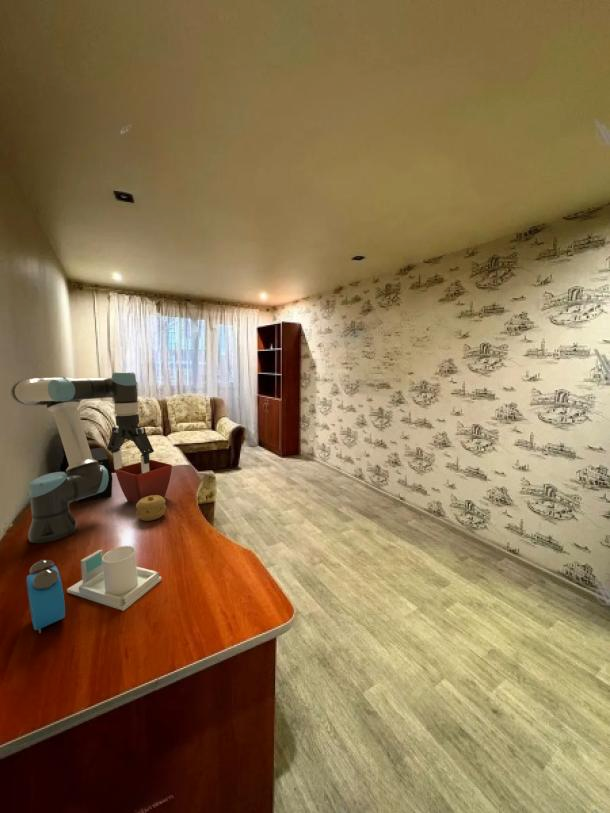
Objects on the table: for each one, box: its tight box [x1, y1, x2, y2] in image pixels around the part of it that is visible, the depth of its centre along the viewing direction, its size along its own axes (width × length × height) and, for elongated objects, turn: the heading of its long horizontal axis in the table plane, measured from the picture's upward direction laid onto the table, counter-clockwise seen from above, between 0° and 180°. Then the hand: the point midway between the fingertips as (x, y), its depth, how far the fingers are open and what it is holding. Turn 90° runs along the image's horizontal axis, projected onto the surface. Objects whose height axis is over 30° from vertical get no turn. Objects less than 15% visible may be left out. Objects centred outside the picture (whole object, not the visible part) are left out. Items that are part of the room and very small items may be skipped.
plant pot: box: [114, 459, 173, 505], centre depth 157 cm, size 19×19×17 cm
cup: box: [102, 545, 138, 596], centre depth 93 cm, size 8×12×10 cm
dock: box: [66, 549, 163, 612], centre depth 94 cm, size 22×13×8 cm, turn 70°
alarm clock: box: [26, 559, 66, 634], centre depth 80 cm, size 13×6×15 cm, turn 46°
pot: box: [135, 495, 167, 522], centre depth 137 cm, size 12×12×10 cm
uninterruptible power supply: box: [76, 446, 113, 504], centre depth 170 cm, size 16×34×20 cm, turn 36°
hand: (131, 470), depth 118 cm, fingers open, 13 cm apart
